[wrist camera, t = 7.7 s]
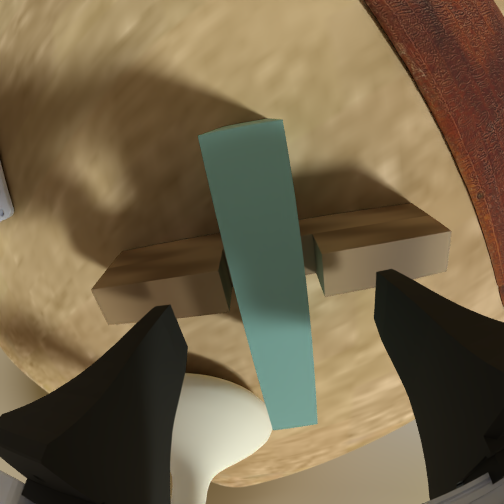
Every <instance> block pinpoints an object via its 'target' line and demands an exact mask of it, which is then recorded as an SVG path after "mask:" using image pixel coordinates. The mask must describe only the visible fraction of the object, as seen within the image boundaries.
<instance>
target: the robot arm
mask: <svg viewBox="0 0 504 504" xmlns="http://www.w3.org/2000/svg"><path fill="white" fill-rule="evenodd" d="M3 211H4V212H3ZM13 213H14V208H13V205H12V202H11V198H10V195H9V192H8V188H7V185H6V181H5V177H4V173H3V169H2V165H1V161H0V221H2V220H5V219H7V218H9V217H11V216H12V215H13ZM374 320H375V323H376V326H377V329H378V332H379V334H380V337H381V340H382V342H383V344H384V347H385V349H386V351H387V353H388V355H389V357H390V359H391V361H392V363H393V365H394V367H395V369H396V371H397V373H398V375H399V377H400V379H401V381H402V383H403V385H404V387H405V390H406V392H407V395H408V397H409V400H410V403H411V406H412V409H413V413H414V416H415V419H416V423H417V426H418V430H419V434H420V438H421V442H422V448H423V453H424V458H425V463H426V470H427V477H428V484H429V497H430V501H428V502H425V503H423V504H504V322H501V321H497V320H494V319H491V318H489V317H486V316H483V315H481V314H479V313H476V312H474V311H471V310H469V309H467V308H464V307H462V306H460V305H458V304H456V303H454V302H452V301H450V300H448V299H446V298H444V297H442V296H441V295H439V294H437V293H435V292H433V291H431V290H430V289H428V288H426V287H424V286H423V285H421V284H419V283H417V282H416V281H414V280H412V279H411V278H409V277H407V276H405V275H403V274H402V273H400V272H398V271H396V270H394V269H388V270H383V271H378V272H376V291H375V309H374ZM187 350H188V346H187V344H186V341H185V339H184V337H183V334H182V332H181V329H180V327H179V324H178V322H177V319H176V317H175V314H174V312H173V309H172V307H171V304H170V305H161V306H155V307H154V308H152V309H151V310H150V311H149V312H148V313H147V314H146V315H145V316H144V317H143V318H142V319H141V320H139V321H138V322H137V323H136V324H135V325H134V326H133V327H132V328H131V329H130V330H129V331H128V332H127V333H126V334H125V335H124V336H123V337H122V338H121V339H120V340H119V341H118V342H117V343H116V344H115V345H114V346H113V347H111V348H110V349H109V350H108V351H107V352H106V353H105V354H104V355H103V356H102V357H101V358H99V359H98V360H97V361H96V362H95V363H93V364H92V365H91V366H90V367H88V368H87V369H86V370H84V371H83V372H82V373H81V374H79V375H78V376H76V377H75V378H74V379H72V380H70V381H69V382H67V383H66V384H64V385H63V386H61V387H60V388H58V389H56V390H55V391H53V392H51V393H50V394H48V395H46V396H44V397H42V398H40V399H38V400H36V401H34V402H32V403H30V404H28V405H25V406H23V407H20V408H18V409H15V410H13V411H10V412H7V413H4V414H2V415H1V416H0V457H1V458H2V459H4V460H5V461H6V462H7V463H8V464H10V465H11V466H12V467H13V468H15V469H16V470H17V471H18V472H20V473H21V474H22V475H24V476H25V477H26V478H27V480H26V483H25V484H24V483H23V482H21V481H19V480H18V479H16V478H14V477H12V476H10V475H8V474H6V473H4V472H2V471H0V504H171V502H170V458H171V443H172V432H173V426H174V420H175V415H176V411H177V407H178V402H179V398H180V394H181V389H182V385H183V380H184V376H185V371H186V362H187Z"/></svg>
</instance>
